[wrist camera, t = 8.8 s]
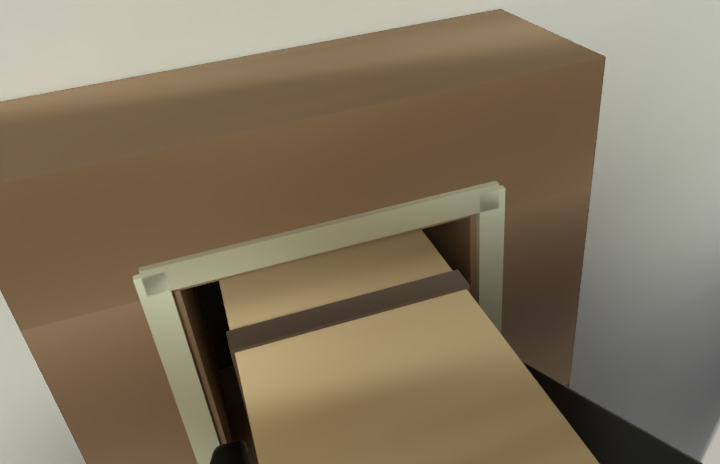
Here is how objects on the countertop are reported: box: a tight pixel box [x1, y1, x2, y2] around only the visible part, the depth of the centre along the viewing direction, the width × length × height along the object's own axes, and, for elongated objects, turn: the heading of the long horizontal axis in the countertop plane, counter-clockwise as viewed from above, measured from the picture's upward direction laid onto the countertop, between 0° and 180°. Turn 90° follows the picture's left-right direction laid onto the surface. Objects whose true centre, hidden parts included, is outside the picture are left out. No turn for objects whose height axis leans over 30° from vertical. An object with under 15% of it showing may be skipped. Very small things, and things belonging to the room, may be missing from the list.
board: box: [0, 9, 606, 464], centre depth 11 cm, size 8×8×3 cm
